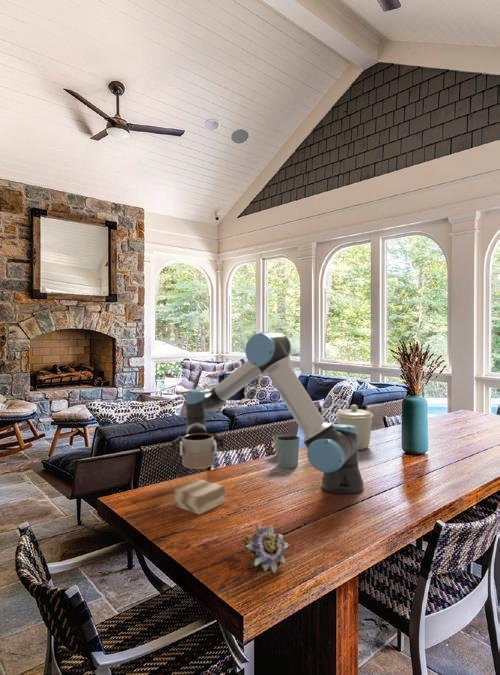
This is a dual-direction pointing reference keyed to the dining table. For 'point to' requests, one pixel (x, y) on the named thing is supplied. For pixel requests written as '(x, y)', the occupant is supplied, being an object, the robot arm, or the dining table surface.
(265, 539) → the passion flower
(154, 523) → the dining table surface
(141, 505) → the dining table surface
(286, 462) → the green cup
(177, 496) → the maple block
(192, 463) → the planter
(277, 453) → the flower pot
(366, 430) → the canister
